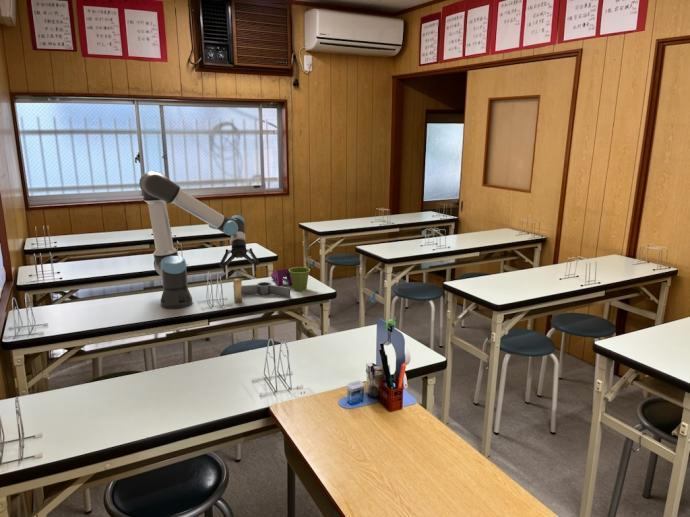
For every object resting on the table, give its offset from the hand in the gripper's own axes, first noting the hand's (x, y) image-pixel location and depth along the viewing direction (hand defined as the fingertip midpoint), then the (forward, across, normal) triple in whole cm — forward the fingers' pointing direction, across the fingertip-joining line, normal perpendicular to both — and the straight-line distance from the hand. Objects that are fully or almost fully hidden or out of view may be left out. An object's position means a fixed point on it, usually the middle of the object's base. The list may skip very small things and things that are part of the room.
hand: (240, 277), depth 258 cm
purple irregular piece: (-7, -23, -24) cm, 34 cm away
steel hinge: (+5, -12, -10) cm, 17 cm away
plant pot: (+3, -32, -13) cm, 34 cm away
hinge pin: (+13, +2, -3) cm, 13 cm away
